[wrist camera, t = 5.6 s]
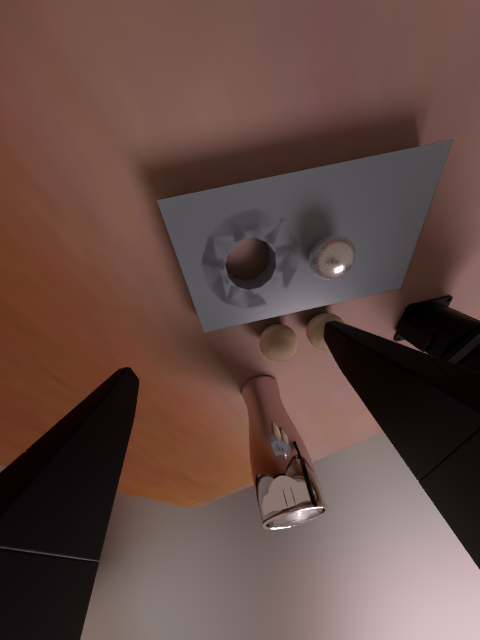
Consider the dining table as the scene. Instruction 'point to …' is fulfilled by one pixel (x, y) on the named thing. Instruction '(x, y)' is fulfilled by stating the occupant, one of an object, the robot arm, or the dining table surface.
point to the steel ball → (332, 257)
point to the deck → (303, 233)
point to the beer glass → (279, 460)
